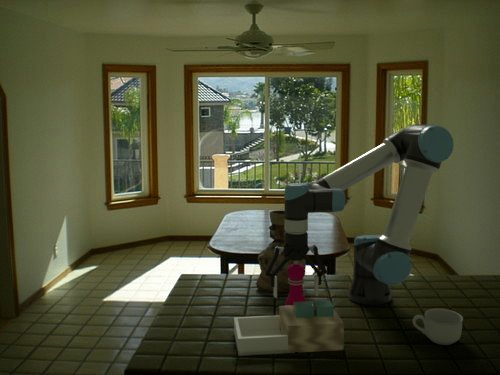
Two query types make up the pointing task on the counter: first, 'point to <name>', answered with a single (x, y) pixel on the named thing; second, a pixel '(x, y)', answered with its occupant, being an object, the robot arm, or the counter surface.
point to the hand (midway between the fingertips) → (295, 295)
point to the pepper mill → (295, 283)
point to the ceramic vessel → (266, 255)
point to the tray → (259, 335)
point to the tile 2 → (323, 308)
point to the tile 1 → (303, 309)
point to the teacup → (441, 325)
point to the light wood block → (311, 331)
